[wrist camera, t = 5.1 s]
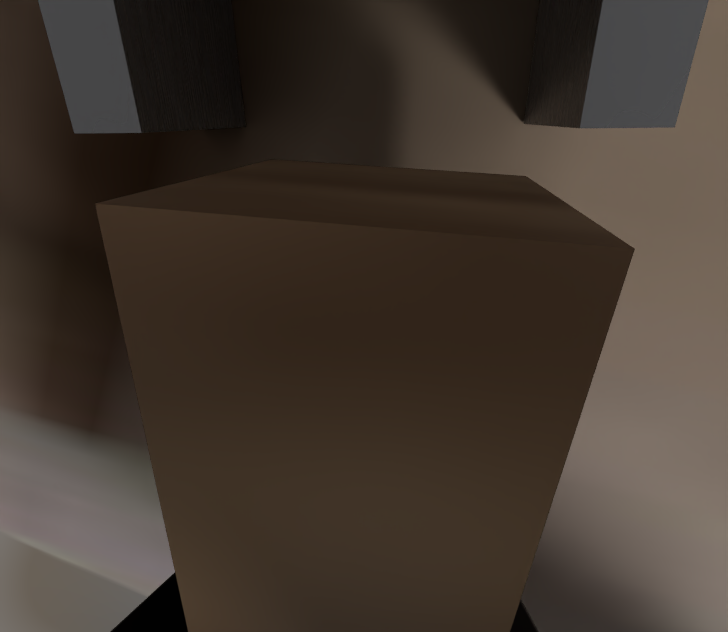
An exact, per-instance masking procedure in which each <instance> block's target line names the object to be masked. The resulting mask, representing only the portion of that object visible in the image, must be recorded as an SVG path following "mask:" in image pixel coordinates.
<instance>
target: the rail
mask: <svg viewBox="0 0 728 632" xmlns="http://www.w3.org/2000/svg"><path fill="white" fill-rule="evenodd" d="M95 206H96V211H97V215H98V220H99V225H100V229H101V234H102V238H103V243H104V248H105V252H106V257H107V261H108V266H109V271H110V275H111V280H112V284H113V289H114V293H115V298H116V303H117V307H118V312H119V316H120V321H121V326H122V330H123V335H124V339H125V344H126V349H127V353H128V358H129V362H130V367H131V372H132V376H133V381H134V385H135V390H136V394H137V399H138V404H139V408H140V413H141V417H142V422H143V427H144V431H145V436H146V440H147V445H148V450H149V454H150V459H151V463H152V468H153V473H154V477H155V482H156V486H157V491H158V495H159V500H160V505H161V509H162V514H163V518H164V523H165V528H166V532H167V537H168V541H169V546H170V551H171V555H172V560H173V564H174V569H175V574H176V578H177V583H178V587H179V592H180V596H181V601H182V606H183V610H184V615H185V619H186V624H187V629H188V632H510V630H511V627H512V624H513V621H514V618H515V615H516V612H517V609H518V605H519V602H520V599H521V596H522V593H523V590H524V587H525V584H526V581H527V578H528V575H529V572H530V569H531V566H532V563H533V559H534V556H535V553H536V550H537V547H538V544H539V541H540V538H541V535H542V532H543V529H544V526H545V523H546V520H547V517H548V513H549V510H550V507H551V504H552V501H553V498H554V495H555V492H556V489H557V486H558V483H559V480H560V477H561V474H562V471H563V467H564V464H565V461H566V458H567V455H568V452H569V449H570V446H571V443H572V440H573V437H574V434H575V431H576V428H577V424H578V421H579V418H580V415H581V412H582V409H583V406H584V403H585V400H586V397H587V394H588V391H589V388H590V385H591V382H592V378H593V375H594V372H595V369H596V366H597V363H598V360H599V357H600V354H601V351H602V348H603V345H604V342H605V339H606V336H607V332H608V329H609V326H610V323H611V320H612V317H613V314H614V311H615V308H616V305H617V302H618V299H619V296H620V293H621V290H622V286H623V283H624V280H625V277H626V274H627V271H628V268H629V265H630V262H631V259H632V256H633V253H634V250H635V249H634V248H633V247H631V246H630V245H628V244H627V243H625V242H624V241H622V240H621V239H619V238H618V237H616V236H615V235H613V234H612V233H610V232H609V231H607V230H606V229H604V228H603V227H601V226H600V225H598V224H597V223H595V222H594V221H592V220H591V219H589V218H588V217H586V216H585V215H583V214H582V213H580V212H579V211H577V210H576V209H574V208H573V207H571V206H570V205H568V204H567V203H565V202H564V201H562V200H561V199H559V198H558V197H556V196H555V195H553V194H552V193H550V192H549V191H547V190H546V189H544V188H543V187H541V186H540V185H538V184H537V183H535V182H534V181H532V180H531V179H529V178H528V177H526V176H516V175H500V174H485V173H470V172H455V171H440V170H425V169H410V168H395V167H380V166H365V165H350V164H335V163H320V162H305V161H290V160H275V159H271V160H267V161H263V162H259V163H255V164H251V165H247V166H243V167H239V168H235V169H231V170H227V171H223V172H219V173H215V174H211V175H207V176H203V177H199V178H195V179H191V180H187V181H183V182H179V183H175V184H171V185H167V186H163V187H159V188H155V189H151V190H147V191H143V192H139V193H135V194H131V195H127V196H123V197H119V198H115V199H111V200H107V201H103V202H99V203H95Z"/></svg>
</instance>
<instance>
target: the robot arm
mask: <svg viewBox="0 0 728 632" xmlns="http://www.w3.org/2000/svg"><path fill="white" fill-rule="evenodd" d="M111 632H188V629H187V624H186V619H185V615H184V610H183V606H182V601H181V596H180V592H179V587H178V583H177V578H176V574H175V573H174V574H173V575H172V576H170V577H169V578H168V579H167V580H166V581H165V582H164V583H163V584H162V585H161V586H160V587H158V588H157V589H156V590H155V591H154V592H153V593H152V594H151V595H150V596H149V597H148V598H147V599H146V600H144V602H142V603H141V604H140V605H139V606H138V607H137V608H136V609H135V610H134V611H132V612H131V613H130V614H129V615H128V616H127V617H126V618H125V619H124V620H123V621H122V622H120V623H119V624H118V625H117V626H116V627H115V628H114V629H113V630H112V631H111ZM510 632H538V630H537V628H536V626H535V625H534V623H533V621H532V619H531V617H530V615H529V614H528V612H527V610H526V608H525V606H524V604H523V603H522V601H521V599H520V602H519V605H518V609H517V612H516V615H515V618H514V621H513V624H512V627H511V630H510Z"/></svg>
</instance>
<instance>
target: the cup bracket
mask: <svg viewBox="0 0 728 632" xmlns="http://www.w3.org/2000/svg"><path fill="white" fill-rule="evenodd" d="M38 2H39V6H40V10H41V13H42V17H43V21H44V24H45V28H46V32H47V35H48V39H49V42H50V46H51V50H52V53H53V57H54V61H55V64H56V68H57V72H58V75H59V79H60V83H61V86H62V90H63V94H64V97H65V101H66V105H67V108H68V112H69V116H70V119H71V123H72V127H73V130H74V133H147V132H165V131H183V130H202V129H220V128H238V127H246V123H245V115H244V106H243V98H242V89H241V81H240V72H239V64H238V55H237V47H236V38H235V30H234V21H233V13H232V5H231V0H38ZM707 4H708V0H540V2H539V10H538V18H537V25H536V33H535V40H534V48H533V56H532V63H531V71H530V79H529V86H528V94H527V102H526V109H525V117H524V124H533V125H545V126H558V127H570V128H652V127H675V124H676V120H677V117H678V113H679V109H680V105H681V102H682V98H683V94H684V90H685V87H686V83H687V79H688V75H689V72H690V68H691V64H692V60H693V57H694V53H695V49H696V45H697V42H698V38H699V34H700V30H701V27H702V23H703V19H704V15H705V12H706V8H707Z"/></svg>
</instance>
